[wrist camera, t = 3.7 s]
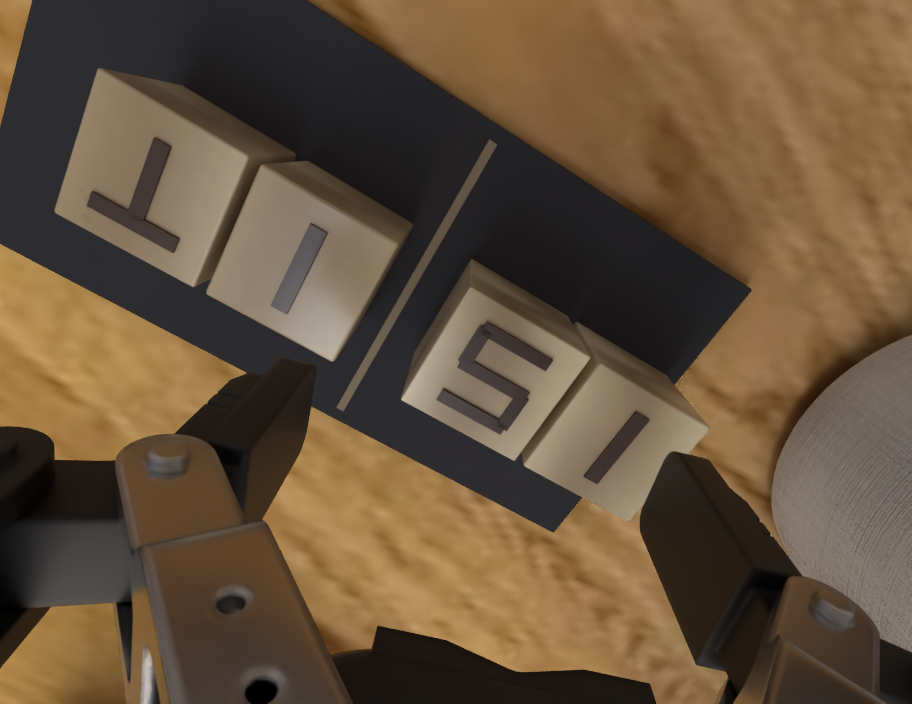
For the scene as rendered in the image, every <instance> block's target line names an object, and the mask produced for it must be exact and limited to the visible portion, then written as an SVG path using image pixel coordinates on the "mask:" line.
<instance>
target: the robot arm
mask: <svg viewBox="0 0 912 704" xmlns="http://www.w3.org/2000/svg"><path fill="white" fill-rule="evenodd" d="M316 370H317V369H316V365H315V364H311V363H307V362H302V361H298V360H294V359H290V358H286V357H280V358H279V359H278V360H277V361H276V363H275V364H274V365H273V366H272V367H271V368H270V369H269V370H268V371H267V372H266V373H265V375H260V374H256V373H252V372H250V373H247V374H245V375H242V376H240V377H237V378H234V379H232V380H230V381H229V382H228V383H227V384H226V385H225V386H224V387H223V388H222V389H221V390H219V391H218V394H215V395H214V396H213V397H212V398H211V399H210V400H209V401H208V403H207V404H205V405H204V406H203V407H202V408H201V409H200V410H199V411H198V412H197V413H196V414H194V415H193V416H192V417H191V418H190V419H189V420H188V421H187V422H186V423H185V424H184V425H183V426H182V427H181V428H180V429H179V430H178V431H177V432H176V433H175V434H162V435H155V436H150V437H146V438H143V439H140V440H137V441H135V442H133V443H131V444H129V445H128V446H126V447H124V448H123V449H122V450H121V451H120V452H119V454H118V455H117V457H116V460H113V461H78V460H55V454H54V443H53V441H52V439H50V438H49V437H48V436H47V435H45V434H44V433H42V432H39V431H37V430H33V429H29V428H23V427H10V426H7V427H0V668H1V667H2V665H3V664H4V663H5V662H6V661H7V659H8V658H9V657H10V656H11V655H12V653H13V652H14V651H15V650H16V649H17V647H18V646H19V645H20V644H21V643H22V641H23V640H24V639H25V638H26V636H27V635H28V634H29V633H30V632H31V630H32V629H33V628H34V627H35V626H36V624H37V623H38V622H39V621H40V620H41V618H42V617H43V616H44V615H45V614H46V612H47V611H48V610H49V609H50V607H53V606H69V605H85V604H100V603H113V611H114V618H115V625H116V632H117V639H118V646H119V653H120V661H121V668H122V675H123V682H124V689H125V696H126V704H656V701H655V698H654V695H653V692H652V689H651V686H650V684H649V683H644V682H640V681H635V680H630V679H625V678H621V677H616V676H611V675H607V674H602V673H597V672H593V671H588V670H568V671H545V672H516V671H513V670H510V669H508V668H506V667H503V666H501V665H499V664H497V663H495V662H493V661H490V660H488V659H486V658H484V657H482V656H479V655H477V654H475V653H473V652H471V651H468V650H466V649H464V648H462V647H460V646H457V645H455V644H453V643H451V642H449V641H447V640H442V639H438V638H433V637H428V636H424V635H419V634H414V633H410V632H405V631H400V630H396V629H391V628H386V627H381V626H378V627H377V630H376V634H375V638H374V642H373V646H372V649H363V650H353V651H347V652H341V653H337V654H334V655H330V654H329V651H328V649H327V647H326V645H325V643H324V641H323V639H322V637H321V635H320V633H319V630H318V628H317V626H316V624H315V622H314V620H313V618H312V616H311V614H310V611H309V609H308V607H307V605H306V603H305V601H304V599H303V597H302V595H301V593H300V590H299V588H298V586H297V584H296V582H295V580H294V578H293V576H292V574H291V572H290V569H289V567H288V565H287V563H286V561H285V559H284V557H283V555H282V553H281V550H280V548H279V546H278V544H277V542H276V540H275V538H274V536H273V534H272V532H271V530H270V528H269V526H268V525H267V523H266V522H265V521H263V520H262V519H263V517H264V515H265V513H266V512H267V510H268V508H269V506H270V505H271V503H272V501H273V499H274V498H275V496H276V494H277V492H278V491H279V489H280V487H281V485H282V484H283V482H284V480H285V478H286V477H287V475H288V473H289V471H290V470H291V468H292V466H293V464H294V463H295V461H296V459H297V457H298V455H299V453H300V451H301V449H302V446H303V443H304V440H305V436H306V432H307V427H308V421H309V415H310V409H311V403H312V397H313V391H314V385H315V379H316ZM759 520H760V519H759V518H758V516H757V515H756V514H755V512H754V511H753V510H752V508H751V507H750V506H749V504H748V503H747V502H746V501H745V500H744V499H742V498H741V497H740V496H739V495H738V494H736V493H735V492H734V491H733V490H732V489H730V488H729V486H728V485H727V484H726V482H725V481H724V480H723V478H722V477H721V476H720V474H719V473H718V471H717V470H716V469H715V467H714V466H713V465H712V463H711V462H710V461H709V460H708V459H705V458H701V457H697V456H693V455H689V454H684V453H680V452H676V451H672V452H670V453H669V454H668V455H667V456H666V458H665V459H664V461H663V463H662V466H661V468H660V470H659V472H658V474H657V476H656V479H655V481H654V483H653V485H652V487H651V490H650V492H649V494H648V496H647V498H646V501H645V503H644V505H643V508H642V511H641V515H640V532H641V535H642V538H643V540H644V543H645V545H646V547H647V550H648V552H649V554H650V557H651V559H652V562H653V564H654V566H655V569H656V571H657V573H658V576H659V578H660V580H661V583H662V585H663V588H664V590H665V592H666V595H667V597H668V599H669V602H670V604H671V607H672V609H673V611H674V614H675V616H676V618H677V621H678V623H679V625H680V628H681V630H682V633H683V635H684V637H685V640H686V642H687V644H688V647H689V649H690V651H691V654H692V656H693V659H694V661H695V663H696V665H698V666H703V667H708V668H712V669H717V670H721V671H726V673H727V675H728V677H727V679H726V681H725V682H724V684H723V686H722V687H721V689H720V691H719V693H718V696H717V698H716V701H715V704H912V652H910V651H908V650H905V649H903V648H901V647H899V646H896V645H894V644H892V643H889V642H887V641H885V640H883V639H880V634H879V631H878V628H877V626H876V625H875V623H874V622H873V620H872V619H871V618H870V617H869V615H868V614H867V613H866V612H865V611H864V610H863V609H862V608H861V607H860V606H858V605H857V604H856V603H855V602H854V601H852V600H851V599H850V598H849V597H847V596H846V595H844V594H843V593H841V592H840V591H838V590H836V589H835V588H833V587H831V586H829V585H827V584H825V583H823V582H821V581H818V580H815V579H813V578H809V577H805V576H802V574H801V573H800V572H799V571H798V569H797V568H796V567H795V565H794V564H793V563H792V561H791V560H790V559H789V557H788V556H787V555H786V553H785V552H784V551H783V549H782V548H781V547H780V545H779V544H778V543H777V541H776V540H775V539H774V537H771V536H770V532H769V531H768V530H767V528H766V527H765V526H764V524H763V523H761V522H759Z"/></svg>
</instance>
